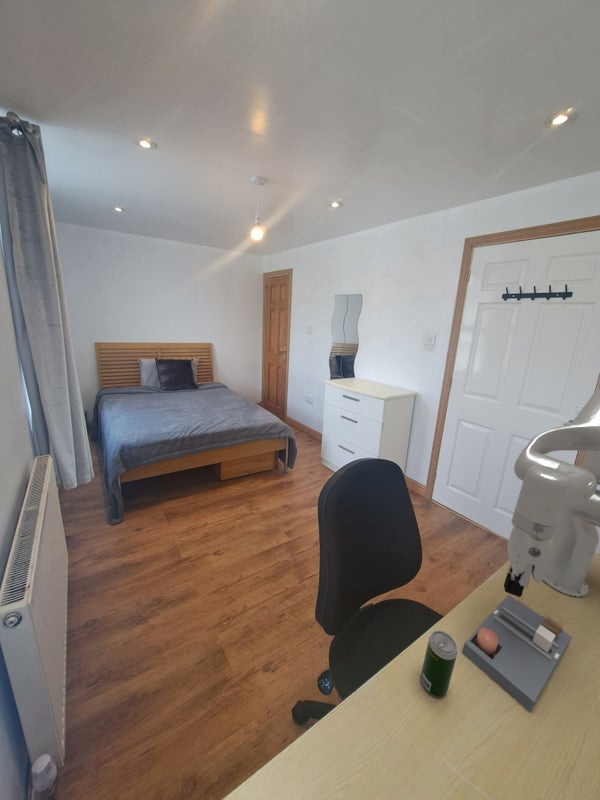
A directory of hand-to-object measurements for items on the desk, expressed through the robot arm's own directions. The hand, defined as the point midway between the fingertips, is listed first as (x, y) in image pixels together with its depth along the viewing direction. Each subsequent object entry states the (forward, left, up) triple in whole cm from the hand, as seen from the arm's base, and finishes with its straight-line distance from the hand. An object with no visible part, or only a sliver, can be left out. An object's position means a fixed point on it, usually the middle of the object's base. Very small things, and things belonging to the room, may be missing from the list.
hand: (512, 591), depth 73 cm
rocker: (-12, +7, -12) cm, 18 cm away
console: (-3, +3, -16) cm, 17 cm away
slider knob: (-6, +7, -13) cm, 16 cm away
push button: (+5, -1, -14) cm, 15 cm away
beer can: (+21, -4, -16) cm, 27 cm away
